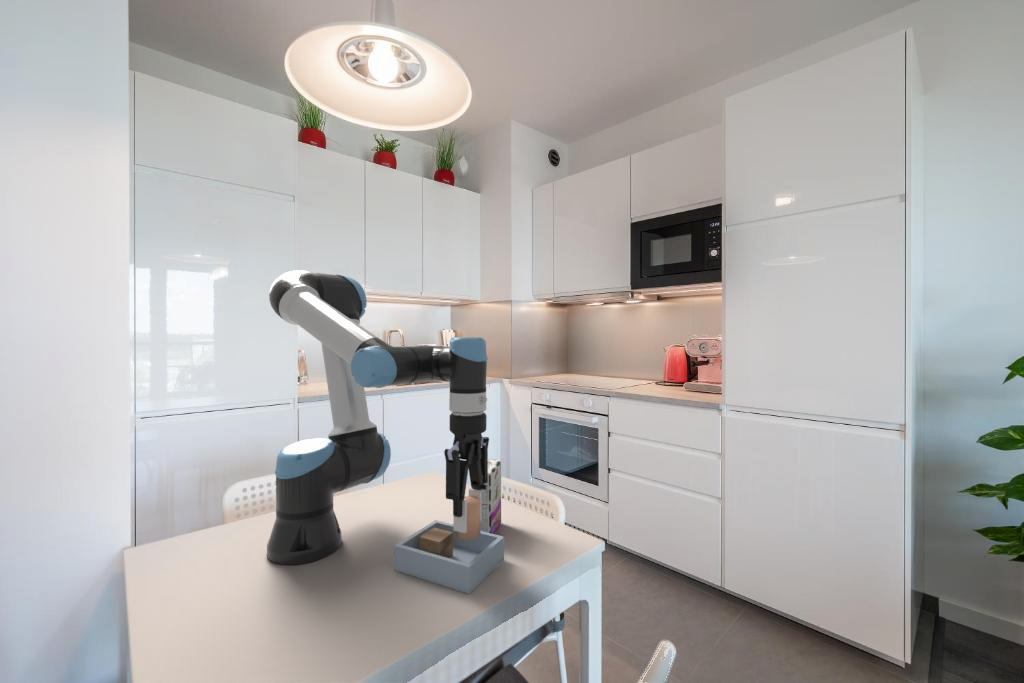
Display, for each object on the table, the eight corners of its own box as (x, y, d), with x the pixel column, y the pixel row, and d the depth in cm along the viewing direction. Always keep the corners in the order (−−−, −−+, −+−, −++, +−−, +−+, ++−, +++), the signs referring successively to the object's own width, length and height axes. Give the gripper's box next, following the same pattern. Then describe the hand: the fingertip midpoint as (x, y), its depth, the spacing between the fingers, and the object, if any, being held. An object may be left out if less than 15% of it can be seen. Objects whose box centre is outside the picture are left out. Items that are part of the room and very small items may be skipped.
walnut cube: (438, 566, 90) (439, 542, 90) (419, 560, 93) (419, 536, 93) (452, 555, 95) (452, 532, 95) (433, 550, 97) (434, 527, 97)
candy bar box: (482, 521, 114) (483, 458, 114) (501, 523, 113) (502, 459, 113) (470, 541, 103) (470, 471, 103) (490, 543, 102) (491, 472, 102)
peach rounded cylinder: (473, 542, 87) (473, 506, 87) (451, 537, 89) (451, 503, 89) (484, 531, 92) (484, 498, 91) (463, 527, 93) (463, 494, 93)
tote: (394, 569, 90) (394, 545, 90) (435, 541, 102) (435, 520, 102) (469, 593, 82) (469, 567, 82) (503, 559, 94) (504, 536, 94)
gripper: (459, 421, 80) (458, 548, 80) (504, 407, 96) (504, 513, 97) (426, 418, 83) (425, 540, 84) (475, 404, 100) (474, 507, 100)
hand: (467, 525), depth 90 cm, fingers closed on peach rounded cylinder, 5 cm apart
